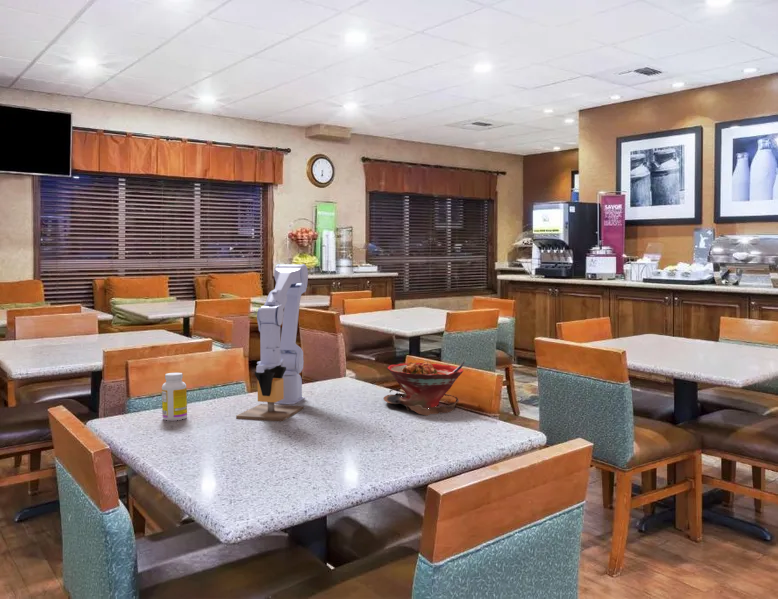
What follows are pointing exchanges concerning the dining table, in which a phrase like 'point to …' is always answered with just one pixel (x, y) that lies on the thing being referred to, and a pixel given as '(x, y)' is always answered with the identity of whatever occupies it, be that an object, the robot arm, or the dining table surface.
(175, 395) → the supplement bottle
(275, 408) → the wooden board with peg
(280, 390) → the orange hollow cube
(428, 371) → the stew
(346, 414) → the dining table surface
